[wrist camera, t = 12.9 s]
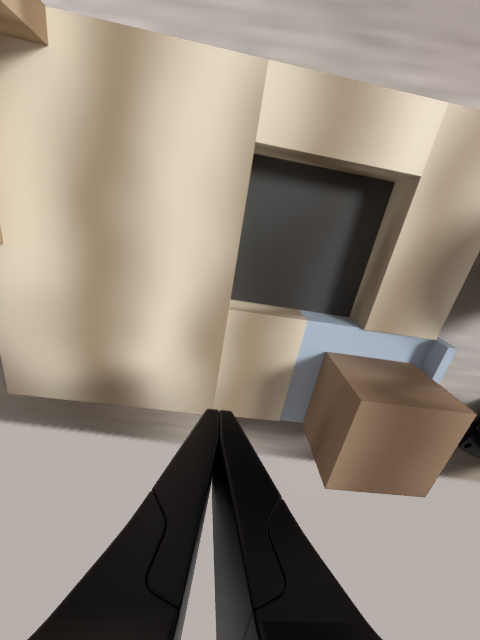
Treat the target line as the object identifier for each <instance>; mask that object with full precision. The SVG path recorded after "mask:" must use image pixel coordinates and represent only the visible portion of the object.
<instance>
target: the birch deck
mask: <svg viewBox="0 0 480 640" xmlns="http://www.w3.org/2000/svg"><path fill="white" fill-rule="evenodd" d="M479 251H480V110H477V109H473V108H469V107H465V106H461V105H456V104H452V103H448V102H444V101H440V100H436V99H431V98H427V97H423V96H419V95H415V94H410V93H406V92H402V91H398V90H394V89H390V88H385V87H381V86H377V85H373V84H369V83H365V82H360V81H356V80H352V79H348V78H344V77H339V76H335V75H331V74H327V73H323V72H319V71H314V70H310V69H306V68H302V67H298V66H293V65H289V64H285V63H281V62H277V61H273V60H268V59H264V58H260V57H256V56H252V55H247V54H243V53H239V52H235V51H231V50H227V49H222V48H218V47H214V46H210V45H206V44H201V43H197V42H193V41H189V40H185V39H181V38H176V37H172V36H168V35H164V34H160V33H156V32H151V31H147V30H143V29H139V28H135V27H130V26H126V25H122V24H118V23H114V22H110V21H105V20H101V19H97V18H93V17H89V16H84V15H80V14H76V13H72V12H68V11H64V10H59V9H55V8H51V7H47V6H45V5H44V4H43V3H42V2H41V1H40V0H0V355H1V360H2V366H3V371H4V376H5V381H6V387H7V392H8V394H16V395H25V396H35V397H44V398H53V399H63V400H72V401H81V402H91V403H100V404H110V405H119V406H128V407H138V408H147V409H156V410H166V411H175V412H184V413H194V414H204V412H205V411H206V409H217V410H219V411H220V410H229V411H232V412H233V414H234V416H235V417H243V418H252V419H261V420H271V421H279V420H280V417H281V413H282V410H283V406H284V403H285V399H286V395H287V392H288V388H289V385H290V381H291V378H292V374H293V370H294V367H295V363H296V360H297V356H298V353H299V349H300V345H301V342H302V338H303V335H304V331H305V328H306V324H307V320H306V318H305V317H304V316H303V314H302V313H301V312H300V310H304V311H311V312H318V313H324V314H331V315H338V316H345V317H350V318H351V319H352V320H353V321H354V322H356V323H357V324H358V325H359V326H361V327H362V328H363V329H364V330H370V331H377V332H384V333H391V334H397V335H404V336H411V337H418V338H425V339H432V340H436V339H437V337H438V335H439V333H440V331H441V329H442V327H443V325H444V323H445V321H446V319H447V317H448V315H449V313H450V311H451V309H452V307H453V305H454V302H455V300H456V298H457V296H458V294H459V292H460V290H461V288H462V286H463V284H464V282H465V280H466V278H467V276H468V274H469V272H470V270H471V268H472V266H473V264H474V261H475V259H476V257H477V255H478V253H479Z"/></svg>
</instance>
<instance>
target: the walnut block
mask: <svg viewBox="0 0 480 640" xmlns="http://www.w3.org/2000/svg"><path fill="white" fill-rule="evenodd" d="M476 415H477V414H476V413H474V412H473V411H472V410H471V409H469V408H468V407H467V406H466V405H464V404H463V403H462V402H461V401H459V400H458V399H457V398H456V397H454V396H453V395H452V394H450V393H449V392H448V391H447V390H445V389H444V388H443V387H442V386H440V385H439V384H438V383H437V382H435V381H434V380H433V379H431V378H430V377H429V376H428V375H426V374H425V373H424V372H423V371H421V370H420V369H419V368H418V367H416V366H415V365H414V364H413V363H406V362H399V361H392V360H384V359H377V358H370V357H363V356H355V355H348V354H341V353H333V352H326V353H325V356H324V359H323V362H322V365H321V368H320V371H319V374H318V378H317V381H316V384H315V387H314V390H313V393H312V396H311V399H310V402H309V405H308V408H307V411H306V415H305V418H304V421H303V427H304V430H305V433H306V436H307V439H308V441H309V444H310V447H311V450H312V453H313V456H314V458H315V461H316V464H317V467H318V470H319V473H320V476H321V478H322V481H323V484H324V487H325V489H334V490H346V491H357V492H369V493H382V494H393V495H404V496H416V497H426V495H427V493H428V492H429V490H430V489H431V487H432V486H433V484H434V483H435V481H436V479H437V478H438V476H439V475H440V473H441V471H442V470H443V468H444V467H445V465H446V463H447V462H448V460H449V459H450V457H451V455H452V454H453V452H454V451H455V449H456V447H457V446H458V444H459V443H460V441H461V439H462V438H463V436H464V435H465V433H466V431H467V430H468V428H469V427H470V425H471V423H472V422H473V420H474V419H475V417H476Z"/></svg>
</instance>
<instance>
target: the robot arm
mask: <svg viewBox="0 0 480 640" xmlns="http://www.w3.org/2000/svg"><path fill="white" fill-rule="evenodd" d="M458 447H459V448H460V449H461V450H463V451H465V452H467V453H469V454H471V455H473V456H475V457H477V458H479V459H480V419H479V420H478V421H477V422H476V423H475V424H474V425H473V426H472V427H471V428H469V429H468V430H467V431H466V433H465V435H464V436H463V438H462V439H461V441H460V443H459V444H458ZM211 481H212V510H213V542H214V574H215V603H216V604H215V607H216V638H217V639H216V640H382V639H381V638H380V637H379V636H378V635H377V634H376V632H375V631H374V630H373V629H372V628H371V626H370V625H369V624H368V623H367V621H366V620H365V619H364V617H363V616H362V615H361V613H360V612H359V611H358V609H357V608H356V606H355V605H354V604H353V602H352V601H351V600H350V598H349V597H348V595H347V594H346V593H345V591H344V590H343V588H342V587H341V586H340V584H339V583H338V581H337V580H336V578H335V577H334V576H333V574H332V573H331V571H330V570H329V569H328V567H327V566H326V565H325V563H324V562H323V560H322V559H321V558H320V556H319V555H318V553H317V552H316V551H315V549H314V548H313V546H312V545H311V543H310V542H309V540H308V539H307V537H306V536H305V534H304V533H303V532H302V530H301V528H300V527H299V525H298V523H297V522H296V520H295V518H294V517H293V515H292V514H291V512H290V510H289V509H288V507H287V505H286V503H285V502H284V500H283V499H281V498H282V497H281V495H280V493H279V491H278V490H277V488H276V486H275V485H274V483H273V481H272V479H271V478H270V476H269V474H268V473H267V471H266V469H265V467H264V466H263V464H262V462H261V461H260V459H259V457H258V455H257V454H256V452H255V450H254V449H253V447H252V445H251V443H250V442H249V440H248V438H247V437H246V435H245V433H244V431H243V430H242V428H241V426H240V424H239V423H238V421H237V419H236V418H235V416H234V414H233V412H232V411H229V410H220V411H219V410H217V409H206V411H205V412H204V414H203V415H202V416H201V418H200V419H199V421H198V422H197V424H196V425H195V427H194V428H193V430H192V431H191V433H190V434H189V436H188V437H187V438H186V440H185V441H184V443H183V444H182V446H181V447H180V449H179V450H178V452H177V453H176V455H175V456H174V458H173V459H172V461H171V462H170V463H169V465H168V466H167V468H166V469H165V471H164V472H163V474H162V475H161V477H160V478H159V480H158V481H157V482H156V484H155V485H154V487H153V488H152V491H151V492H149V494H148V496H147V497H146V498H145V500H144V501H143V503H142V504H141V506H140V507H139V508H138V510H137V511H136V513H135V514H134V515H133V517H132V518H131V520H130V521H129V522H128V524H127V525H126V526H125V527H124V528H123V530H122V531H121V532H120V534H119V535H118V536H117V537H116V538H115V540H114V541H113V542H112V543H111V545H110V546H109V547H108V548H107V549H106V551H105V552H104V553H103V554H102V555H101V557H100V558H99V559H98V560H97V561H96V563H95V564H94V565H93V566H92V567H91V568H90V569H89V571H88V572H87V573H86V574H85V575H84V577H83V578H82V579H81V580H80V581H79V583H78V584H77V585H76V586H75V587H74V588H73V590H72V591H71V592H70V593H69V594H68V595H67V597H66V598H65V599H64V600H63V601H62V603H61V604H60V605H59V606H58V607H57V608H56V610H55V611H54V612H53V613H52V614H51V615H50V616H49V618H48V619H47V620H46V621H45V622H44V623H43V624H42V625H41V626H40V627H39V628H38V629H37V631H36V632H35V633H34V634H33V635H32V636H31V637H30V638H29V639H27V640H181V634H182V630H183V624H184V619H185V614H186V609H187V604H188V598H189V594H190V589H191V584H192V579H193V574H194V568H195V563H196V558H197V553H198V547H199V543H200V538H201V533H202V528H203V523H204V517H205V513H206V508H207V503H208V497H209V492H210V486H211Z"/></svg>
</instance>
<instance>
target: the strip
mask: <svg viewBox="0 0 480 640" xmlns="http://www.w3.org/2000/svg"><path fill="white" fill-rule="evenodd" d="M300 312H301V313H302V314H303V316H304V317H305V318H306V320H307V324H306V328H305V331H304V335H303V338H302V342H301V345H300V349H299V353H298V356H297V360H296V363H295V367H294V370H293V374H292V378H291V381H290V385H289V388H288V392H287V395H286V399H285V403H284V406H283V410H282V413H281V417H280V420H281V421H290V422H299V423H303V421H304V418H305V415H306V411H307V408H308V405H309V402H310V399H311V396H312V393H313V390H314V387H315V384H316V381H317V378H318V374H319V371H320V368H321V365H322V362H323V359H324V356H325V353H326V352H333V353H341V354H348V355H355V356H363V357H370V358H377V359H384V360H392V361H399V362H406V363H413V364H414V365H415V366H416V367H418V368H419V369H420V370H421V371H423V372H424V373H425V374H426V375H428V376H429V377H430V378H431V379H433V380H434V381H435V382H437V383H438V384H439V383H440V381H441V379H442V377H443V376H444V374H445V372H446V370H447V368H448V366H449V364H450V362H451V360H452V359H453V357H454V355H455V353H456V351H457V348H455V347H454V346H452V345H450V344H448V343H447V342H445V341H443V340H441V339H440V338H438V337H437V339H436V340H432V339H425V338H418V337H411V336H404V335H397V334H391V333H384V332H377V331H370V330H364V329H363V328H362V327H361V326H359V325H358V324H357V323H356V322H354V321H353V320H352V319H351V318H350V317H345V316H338V315H331V314H324V313H318V312H311V311H304V310H300Z"/></svg>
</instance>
